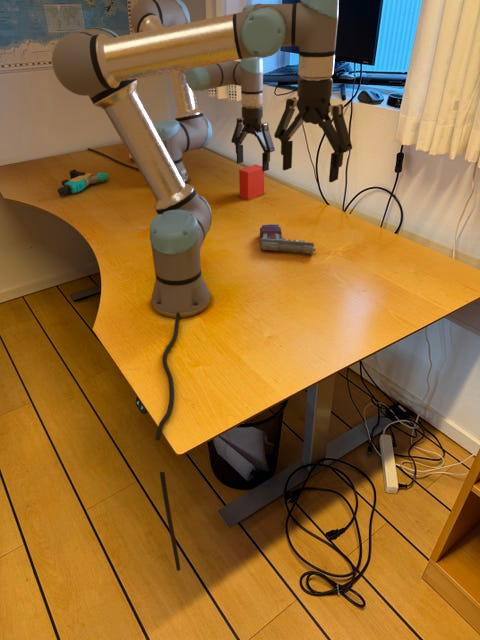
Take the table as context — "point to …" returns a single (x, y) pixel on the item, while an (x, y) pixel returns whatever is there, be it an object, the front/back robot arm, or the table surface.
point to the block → (251, 182)
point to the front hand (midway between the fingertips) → (309, 174)
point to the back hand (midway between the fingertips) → (252, 166)
